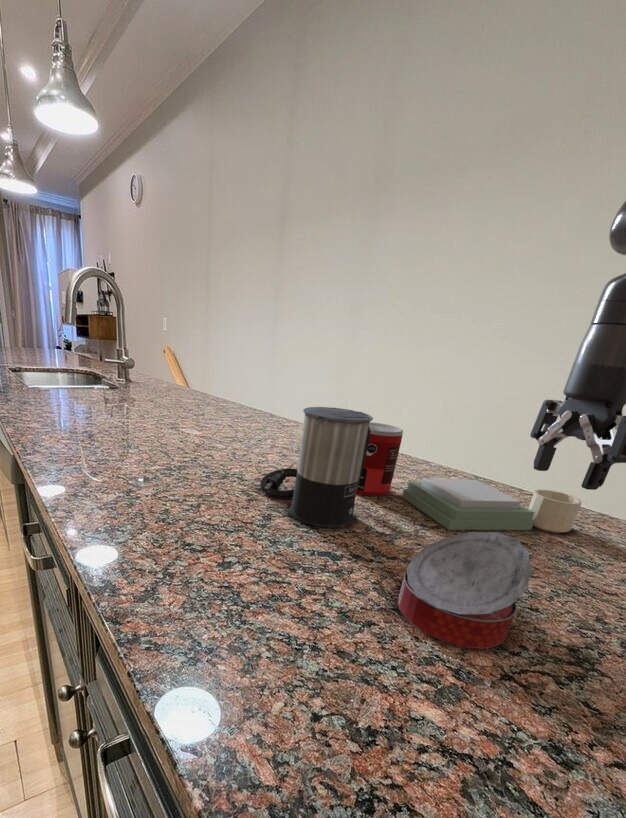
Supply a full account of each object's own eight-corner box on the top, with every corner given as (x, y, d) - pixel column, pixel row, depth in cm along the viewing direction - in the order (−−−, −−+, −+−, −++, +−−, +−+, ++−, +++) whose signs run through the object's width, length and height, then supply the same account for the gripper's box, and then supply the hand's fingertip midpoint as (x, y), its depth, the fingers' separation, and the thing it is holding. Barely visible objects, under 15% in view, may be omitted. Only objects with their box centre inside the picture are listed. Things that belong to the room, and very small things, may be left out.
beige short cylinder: (546, 519, 72) (557, 489, 70) (578, 535, 66) (591, 504, 64) (514, 518, 71) (525, 489, 69) (544, 535, 65) (557, 503, 63)
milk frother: (346, 535, 59) (369, 423, 53) (236, 509, 64) (246, 404, 58) (361, 502, 71) (381, 408, 65) (268, 483, 76) (278, 394, 70)
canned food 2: (491, 683, 42) (554, 639, 34) (383, 647, 43) (419, 597, 36) (490, 584, 48) (542, 528, 41) (396, 556, 50) (429, 498, 42)
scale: (474, 499, 78) (479, 482, 77) (531, 530, 66) (538, 512, 65) (401, 497, 75) (405, 480, 74) (447, 530, 63) (453, 511, 62)
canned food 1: (336, 481, 80) (347, 420, 76) (378, 483, 81) (391, 423, 77) (350, 496, 73) (363, 430, 69) (396, 498, 74) (411, 433, 70)
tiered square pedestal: (473, 488, 75) (476, 479, 75) (517, 511, 66) (521, 501, 66) (420, 486, 73) (422, 478, 73) (458, 510, 64) (461, 500, 64)
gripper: (688, 371, 54) (630, 497, 60) (584, 361, 67) (545, 465, 73) (638, 365, 52) (584, 495, 58) (542, 356, 65) (506, 463, 71)
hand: (563, 478), depth 65 cm, fingers open, 8 cm apart
